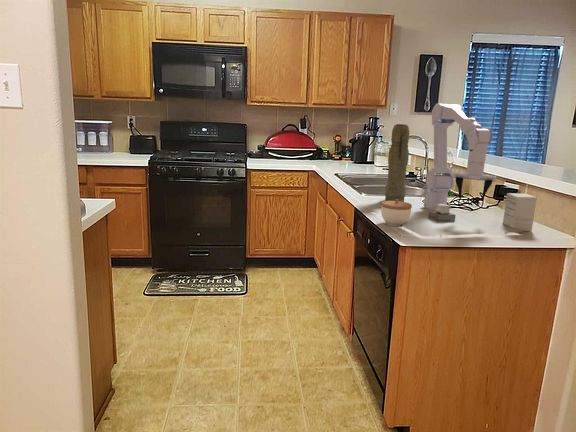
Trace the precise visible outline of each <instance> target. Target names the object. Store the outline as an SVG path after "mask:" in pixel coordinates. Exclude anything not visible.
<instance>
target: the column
mask: <svg viewBox="0 0 576 432" xmlns="http://www.w3.org/2000/svg"><path fill="white" fill-rule="evenodd" d="M450 207H451V205H448V204H436V209H435V210H434V211H435V212H438V214H449V212H450Z"/></svg>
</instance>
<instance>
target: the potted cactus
mask: <svg viewBox="0 0 576 432" xmlns="http://www.w3.org/2000/svg"><path fill="white" fill-rule="evenodd" d="M391 132H392V133H391V140H390V142H391V144H390V147H389V151H388V158H387V159H388V160H387V164H388V171H387V183H386V185H385V191H384V192H385V193H384V195H385V197H384V198H385V199H384V201H395V200H396V199H398V201H401V202H405V197H406V188H407V187H406V177H407V176H406V175H407V174H406V173H407V166H408V164H409V155H410V150H409V142H410V139H409V138H410V126H409V125H408V124H403V123H396V124H395V125H394V126H393V128H392V131H391Z"/></svg>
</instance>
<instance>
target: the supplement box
mask: <svg viewBox="0 0 576 432" xmlns="http://www.w3.org/2000/svg"><path fill="white" fill-rule="evenodd" d="M537 199H538V197H537V196H534V195H533V194H532V195H531V194H528V193H517V192H516V193H515V192H514V193H511V192H509V193H508V192H507V193H506V199H505V205H504V206H505V207H504V213H503V220H502V224H504V225H505V226H507V227H510V228H512V229H517V230H520V231H523V232H532V230H533V223H534V218H535V212H536V205H537Z"/></svg>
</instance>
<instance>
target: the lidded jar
mask: <svg viewBox="0 0 576 432" xmlns="http://www.w3.org/2000/svg"><path fill="white" fill-rule="evenodd" d="M412 205H413V204H411V203H409V202H405V201H404V202H401V201H398V199H396V200H395V201H385V200H384V201H382V202H381V207H380V208H381V217H382V219H383V221H384V222H385V224H386V225H387V226H391V227H403V225H404V224H406V223H407V222H408V221H409V219H410V216H411V212H412V207H413V206H412Z"/></svg>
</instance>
